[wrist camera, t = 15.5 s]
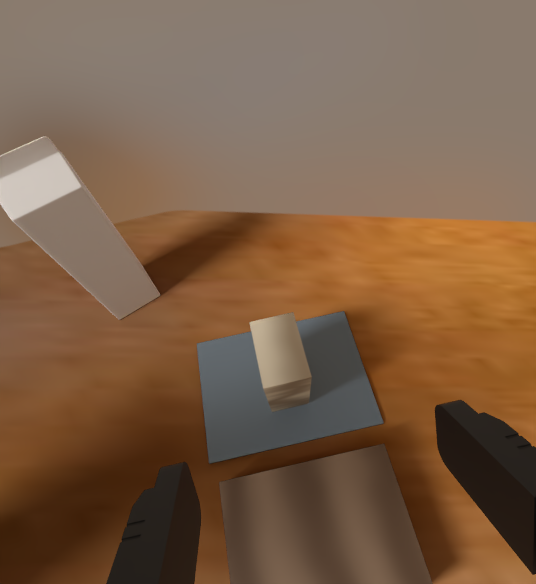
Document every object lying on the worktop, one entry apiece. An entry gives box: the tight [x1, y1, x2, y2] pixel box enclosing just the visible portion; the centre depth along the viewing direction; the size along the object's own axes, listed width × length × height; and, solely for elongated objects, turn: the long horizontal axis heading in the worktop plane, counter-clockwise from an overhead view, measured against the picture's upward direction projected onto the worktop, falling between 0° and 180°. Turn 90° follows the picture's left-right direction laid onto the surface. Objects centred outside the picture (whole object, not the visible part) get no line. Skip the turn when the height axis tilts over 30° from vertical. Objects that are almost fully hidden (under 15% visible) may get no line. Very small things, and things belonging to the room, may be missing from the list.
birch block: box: [250, 312, 312, 412], centre depth 33 cm, size 4×6×10 cm, turn 12°
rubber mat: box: [197, 311, 383, 464], centre depth 38 cm, size 18×13×1 cm
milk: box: [0, 137, 160, 320], centre depth 36 cm, size 6×6×22 cm
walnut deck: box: [219, 444, 433, 584], centre depth 29 cm, size 15×11×4 cm
